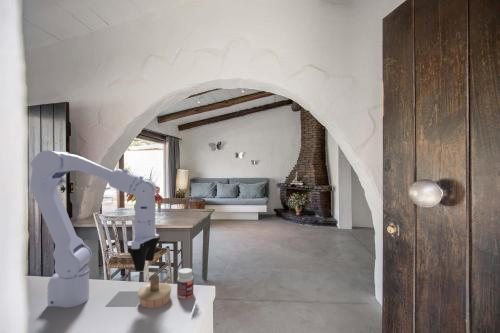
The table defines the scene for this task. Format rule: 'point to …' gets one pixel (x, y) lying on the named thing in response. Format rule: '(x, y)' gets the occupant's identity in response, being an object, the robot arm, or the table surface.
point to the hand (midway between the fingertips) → (144, 265)
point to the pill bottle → (185, 283)
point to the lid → (154, 290)
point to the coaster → (125, 299)
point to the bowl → (155, 302)
